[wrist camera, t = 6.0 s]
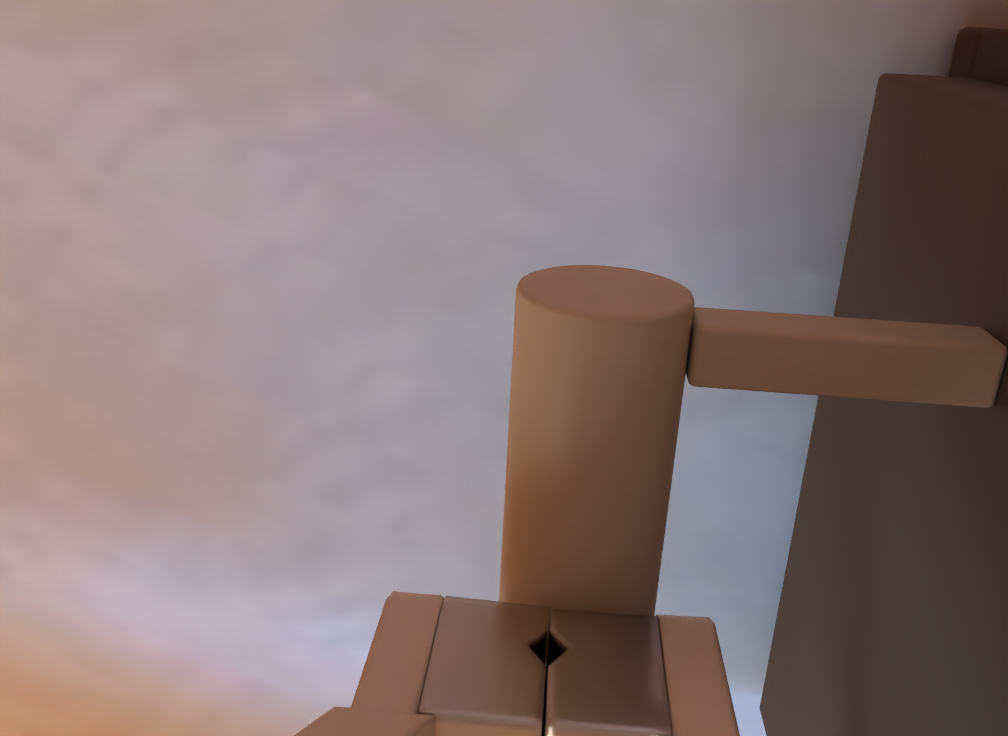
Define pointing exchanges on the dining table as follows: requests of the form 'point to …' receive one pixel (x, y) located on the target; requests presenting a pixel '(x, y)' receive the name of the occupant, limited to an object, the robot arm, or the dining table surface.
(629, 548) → the drawer
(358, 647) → the dining table surface
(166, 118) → the dining table surface
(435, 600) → the robot arm
